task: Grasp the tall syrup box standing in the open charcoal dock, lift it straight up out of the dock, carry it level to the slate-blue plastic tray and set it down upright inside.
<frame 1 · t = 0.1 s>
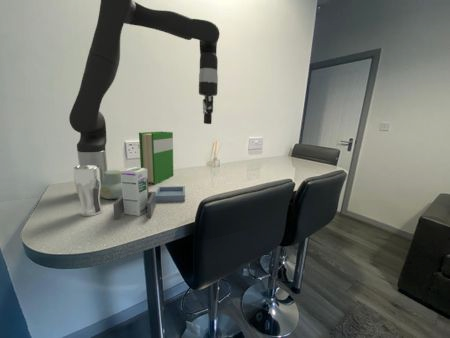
hand: (207, 123, 84), 29 cm above the breakfast bar, tool pointing down, fingers open, 8 cm apart
dock: (137, 211, 67), on the breakfast bar
tray: (171, 196, 81), on the breakfast bar
beer glass: (92, 212, 65), on the breakfast bar
hardback book: (158, 179, 104), on the breakfast bar
air freshener: (114, 197, 79), on the breakfast bar, touching arm
syrup box: (137, 212, 67), resting in dock
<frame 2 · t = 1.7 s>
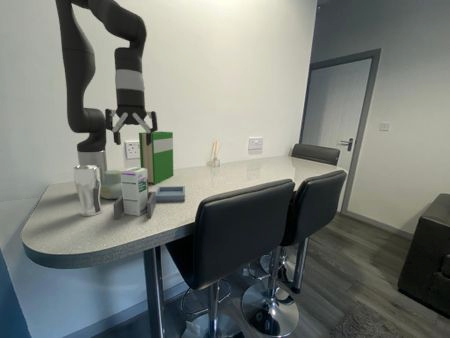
hand: (133, 145, 62), 22 cm above the breakfast bar, tool pointing down, fingers open, 8 cm apart
nothing on the breakfast bar moved.
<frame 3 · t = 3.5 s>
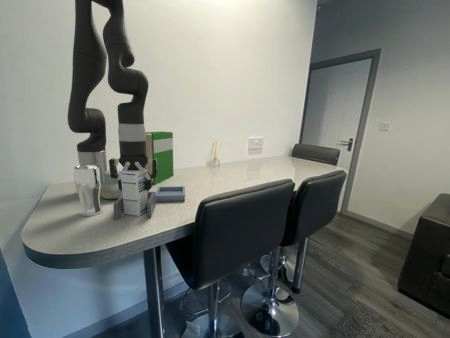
hand: (135, 190, 65), 7 cm above the breakfast bar, tool pointing down, fingers closed on syrup box, 7 cm apart
syrup box: (137, 212, 67), resting in dock, touching gripper
everything else where it was.
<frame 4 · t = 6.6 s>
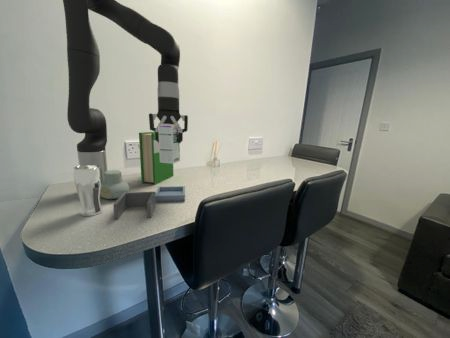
hand: (169, 142, 76), 22 cm above the breakfast bar, tool pointing down, fingers closed on syrup box, 7 cm apart
syrup box: (169, 162, 78), point 14 cm above the breakfast bar, touching gripper
everything else where it was.
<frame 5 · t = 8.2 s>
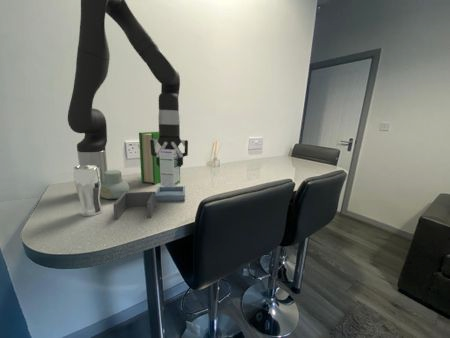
hand: (170, 166, 78), 12 cm above the breakfast bar, tool pointing down, fingers closed on syrup box, 7 cm apart
syrup box: (170, 185, 80), point 5 cm above the breakfast bar, touching gripper
everything else where it was.
when the fingers open (10 cm above the breakfast bar, at t = 9.5 s): syrup box drops 1 cm, resting on tray.
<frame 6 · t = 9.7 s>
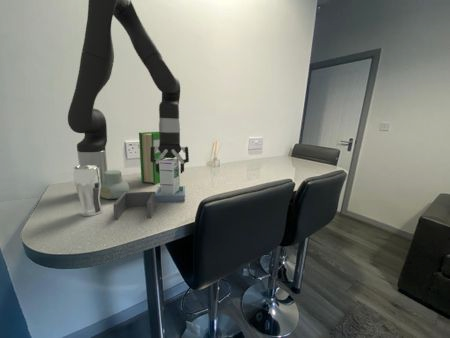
hand: (170, 172, 79), 10 cm above the breakfast bar, tool pointing down, fingers open, 8 cm apart
syrup box: (170, 195, 81), point 1 cm above the breakfast bar, touching tray
everything else where it was.
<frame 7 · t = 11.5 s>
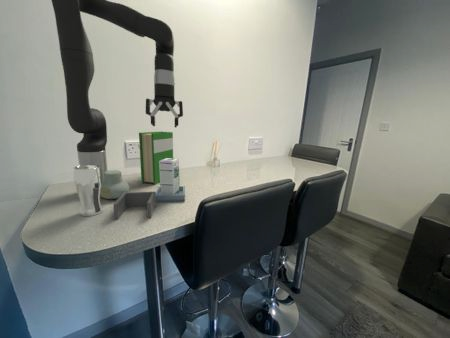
hand: (164, 126, 82), 27 cm above the breakfast bar, tool pointing down, fingers open, 8 cm apart
nothing on the breakfast bar moved.
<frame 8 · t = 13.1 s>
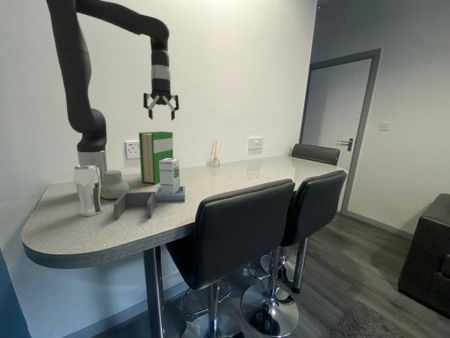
hand: (162, 119, 86), 30 cm above the breakfast bar, tool pointing down, fingers open, 8 cm apart
nothing on the breakfast bar moved.
at the end: syrup box inside the target area on the tray (0.3 cm from its centre), point 0.6 cm above the tray's base; syrup box tilted 0°; the gripper is holding nothing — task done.
